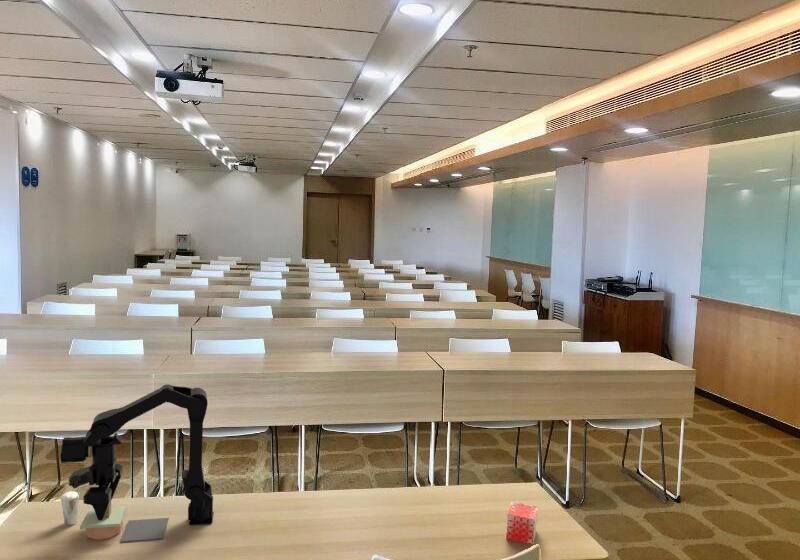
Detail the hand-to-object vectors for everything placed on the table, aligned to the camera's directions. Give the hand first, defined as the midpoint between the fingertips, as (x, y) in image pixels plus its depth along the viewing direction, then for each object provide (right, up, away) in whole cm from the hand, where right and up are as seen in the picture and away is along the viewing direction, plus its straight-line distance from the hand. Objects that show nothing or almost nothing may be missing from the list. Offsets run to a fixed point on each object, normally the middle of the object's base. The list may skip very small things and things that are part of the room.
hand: (104, 511), depth 172 cm
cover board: (0, -2, 0) cm, 2 cm away
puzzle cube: (+120, -11, +10) cm, 121 cm away
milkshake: (-11, -5, +4) cm, 13 cm away
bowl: (0, -6, +1) cm, 6 cm away
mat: (+11, -6, +2) cm, 13 cm away
